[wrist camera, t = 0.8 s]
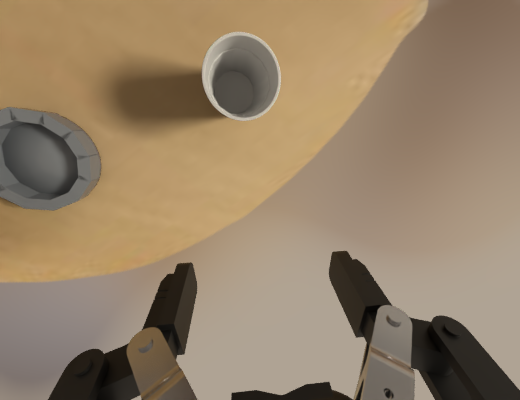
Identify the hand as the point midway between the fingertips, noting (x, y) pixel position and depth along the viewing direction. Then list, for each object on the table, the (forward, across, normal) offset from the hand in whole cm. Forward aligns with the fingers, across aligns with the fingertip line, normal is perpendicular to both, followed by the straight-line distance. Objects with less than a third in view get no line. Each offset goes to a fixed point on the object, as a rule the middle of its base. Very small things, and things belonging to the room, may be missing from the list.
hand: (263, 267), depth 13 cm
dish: (+24, +28, 0) cm, 37 cm away
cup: (+28, +2, -8) cm, 29 cm away
